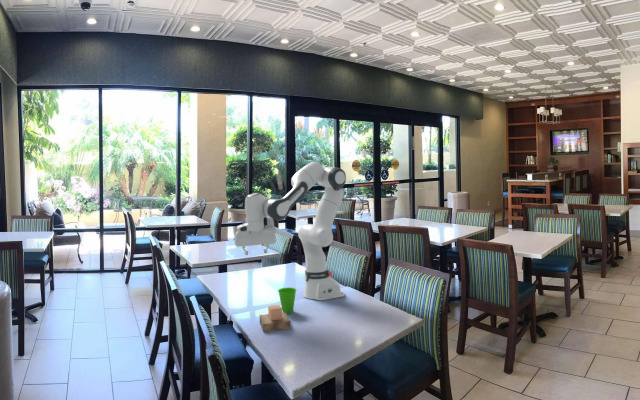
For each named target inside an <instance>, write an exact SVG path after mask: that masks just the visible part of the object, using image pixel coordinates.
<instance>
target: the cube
mask: <svg viewBox="0 0 640 400" xmlns="http://www.w3.org/2000/svg"><path fill="white" fill-rule="evenodd" d="M267 308H268V312H267V314H269V318H270V320H271V321H273V320H280V319H282V313H283V311H282V306H281V304H277V305H276V304H274V305H268V307H267Z"/></svg>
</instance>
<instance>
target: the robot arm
mask: <svg viewBox="0 0 640 400" xmlns="http://www.w3.org/2000/svg"><path fill="white" fill-rule="evenodd" d="M346 175H347V174H346V172H345V170H344V169H342V168H340V167H333V166H324V167H323V166H322V164H321V163H319V162H318V161H311V162H309V163H308V164H306V165H304V166H303V167H301V168H300V169H299V170H298V171H297V172H295V173H294V175H292V177H291V180H290V181H291V182H290V183H291V184H290V185H291V186H292V189H291V190H290V191H288V192H287V194H285V196H283V197H282V198H280V199H279V198H278V199H275V198H274V199H273V198H269V197H267V196H265V195H262V194H261V193H260V192H253V193H250V194H248V195H246V196H245V200H244V212H245V221H244V223H242V224H239V225H237V226H236V231H235V234H234V246H236V247H239V248H240V247H241V248H242V250H243V251H244V255H245V256H248V255H249V250H246V247H247V246H248V247H249V246H260V245H265V246H266V247H265V248H264V249H263V254H267V253H268V249H269V248H270V245H273V244H276V243H277V238H276V237H277V236H276V232H277V227H276V226H275V225H273V224H270V225H265V224H264V219H265V218H268V219H272V220H274V221H276V222H277V221H283V220H285V219H286V218H287V217H288V215H289V214H290V211H291V210H292V208H293V207H294V206H295V205H296V204H297V203H298V202H299V201H300V200H301V199H302V197H304V195H306V193H307V192H308V191H309V190H310V189H311V188H312V187H314V185H317V186H320V187H323V188H324V192H323V194H322V197H321V198H320V200H319V203H318V205H317V207H316V208H315V209H316V210H315V211H314V213H315V214H314V215H315V221H314V223H313V224H312V223H307V224H303V225H302V226H300V227H299V229H298V232H297V234H298V238H299V239H300V241H301V244H302V248H303V252H304V256H305V270H304V272H305V273H304V281H305V286H304V293H303V295H302V296H303V297H304V298H305V299H309V300H316V301H325V300H332V299H338V298H342V297H345V292H344V290H342V289H341V286H340V284H339V282H338V281H336V280H335V279H334V278H333V277H331V276H332V275H333V272H332V271H331V270H330V271H329V270H328V269H327V263H326V261H327V258H326V254H325V252H324V251H323V248H326V247H328V246H330V245H331V244H332V242H333V240H334V235H333V232H332V231H333V224H334V220H335V218H336V215H337V213H338V211H339V208H340V206H341V204H342V202H343V198H344V193H345V192H344V189H343V188H344V186H345V183H346V181H347V176H346Z"/></svg>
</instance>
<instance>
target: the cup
mask: <svg viewBox="0 0 640 400" xmlns="http://www.w3.org/2000/svg"><path fill="white" fill-rule="evenodd" d="M277 292H278V295H279V299H280V307H281V308H282V313H283V312H285V313H286V314H287V315H289V314H292V313H294V307H295V300H296V292H297V289H296V288H295V287H289V286H288V287H282V288H279V289H278V290H277Z"/></svg>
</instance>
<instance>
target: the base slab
mask: <svg viewBox="0 0 640 400" xmlns="http://www.w3.org/2000/svg"><path fill="white" fill-rule="evenodd" d="M259 324H260V326H261V330H262V332H263V333H269V332H275V331H283V330H291V319H290V318H289V316H288V314H286V313H285V312H283V311H282V319H280V320H273V321H271V320H270V318H269V313H267V314H259Z"/></svg>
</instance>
